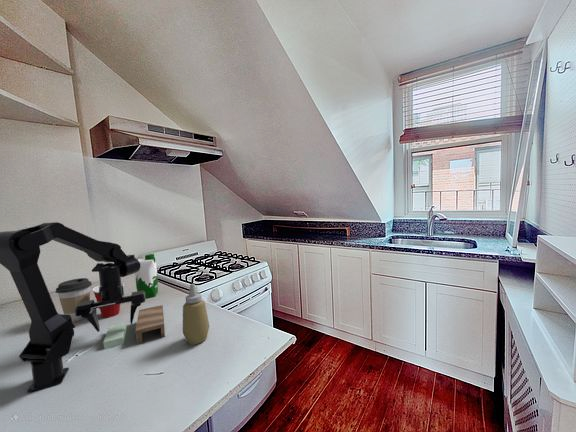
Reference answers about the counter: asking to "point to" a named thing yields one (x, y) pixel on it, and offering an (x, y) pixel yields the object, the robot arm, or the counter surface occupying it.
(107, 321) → the counter surface
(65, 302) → the coffee cup
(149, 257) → the milk carton
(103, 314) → the plastic cup
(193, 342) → the squeeze bottle
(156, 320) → the bench
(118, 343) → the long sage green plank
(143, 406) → the counter surface
